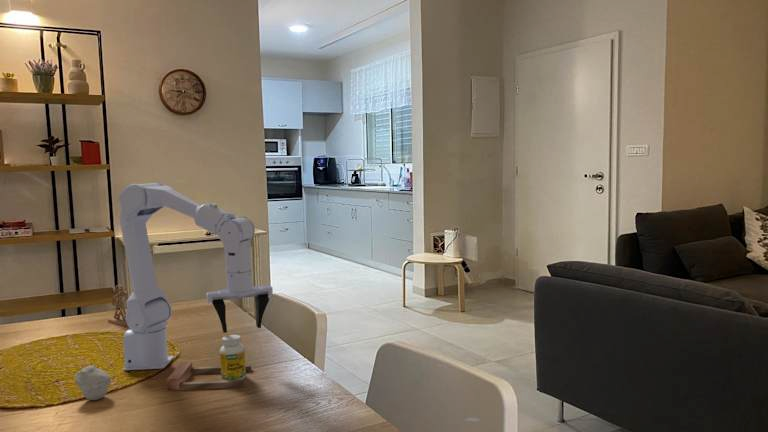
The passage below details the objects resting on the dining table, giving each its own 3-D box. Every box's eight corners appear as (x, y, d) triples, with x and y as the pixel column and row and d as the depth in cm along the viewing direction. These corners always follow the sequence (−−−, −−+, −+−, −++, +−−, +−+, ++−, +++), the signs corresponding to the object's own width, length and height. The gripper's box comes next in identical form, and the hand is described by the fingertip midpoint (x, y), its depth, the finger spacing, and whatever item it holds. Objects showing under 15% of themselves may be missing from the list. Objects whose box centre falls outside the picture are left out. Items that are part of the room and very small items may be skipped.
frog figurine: (86, 393, 123) (84, 361, 123) (118, 393, 123) (116, 361, 122) (70, 405, 117) (67, 372, 117) (104, 405, 117) (101, 371, 116)
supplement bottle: (241, 372, 133) (239, 332, 132) (249, 379, 129) (247, 337, 128) (218, 377, 130) (215, 336, 129) (225, 385, 126) (223, 342, 125)
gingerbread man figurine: (107, 322, 180) (104, 284, 179) (119, 319, 183) (116, 282, 182) (123, 326, 175) (121, 287, 174) (135, 322, 178) (132, 284, 177)
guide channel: (167, 390, 124) (166, 379, 124) (181, 372, 134) (181, 362, 134) (242, 386, 125) (242, 375, 124) (251, 369, 135) (250, 359, 135)
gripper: (207, 277, 124) (211, 338, 126) (274, 270, 130) (277, 329, 131) (204, 271, 131) (207, 330, 132) (267, 265, 136) (270, 321, 138)
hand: (241, 329), depth 132 cm, fingers open, 7 cm apart
